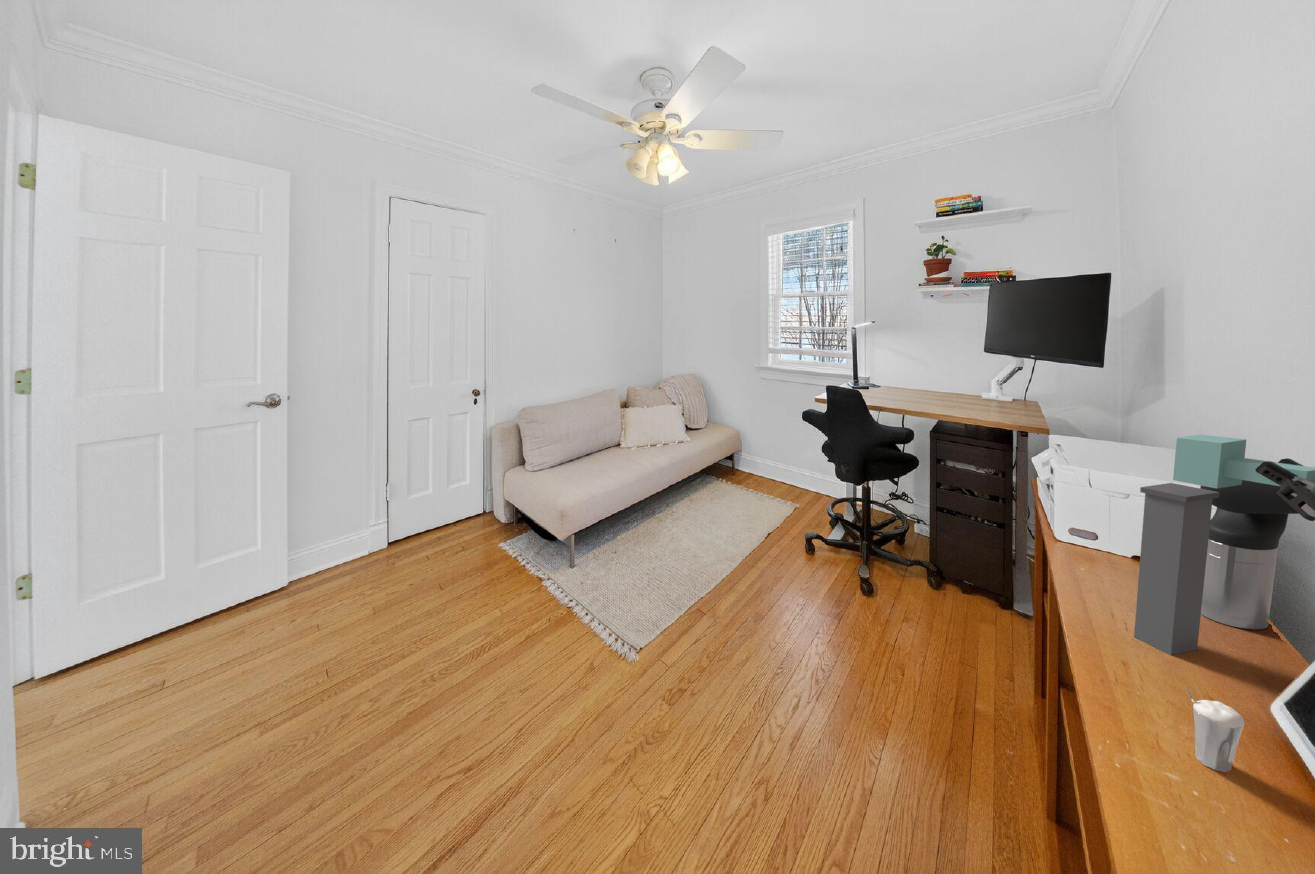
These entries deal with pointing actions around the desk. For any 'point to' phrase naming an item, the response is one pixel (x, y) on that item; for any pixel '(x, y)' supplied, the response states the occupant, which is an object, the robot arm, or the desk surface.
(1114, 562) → the desk surface
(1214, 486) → the teal handle
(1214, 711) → the milkshake
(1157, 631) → the stand
